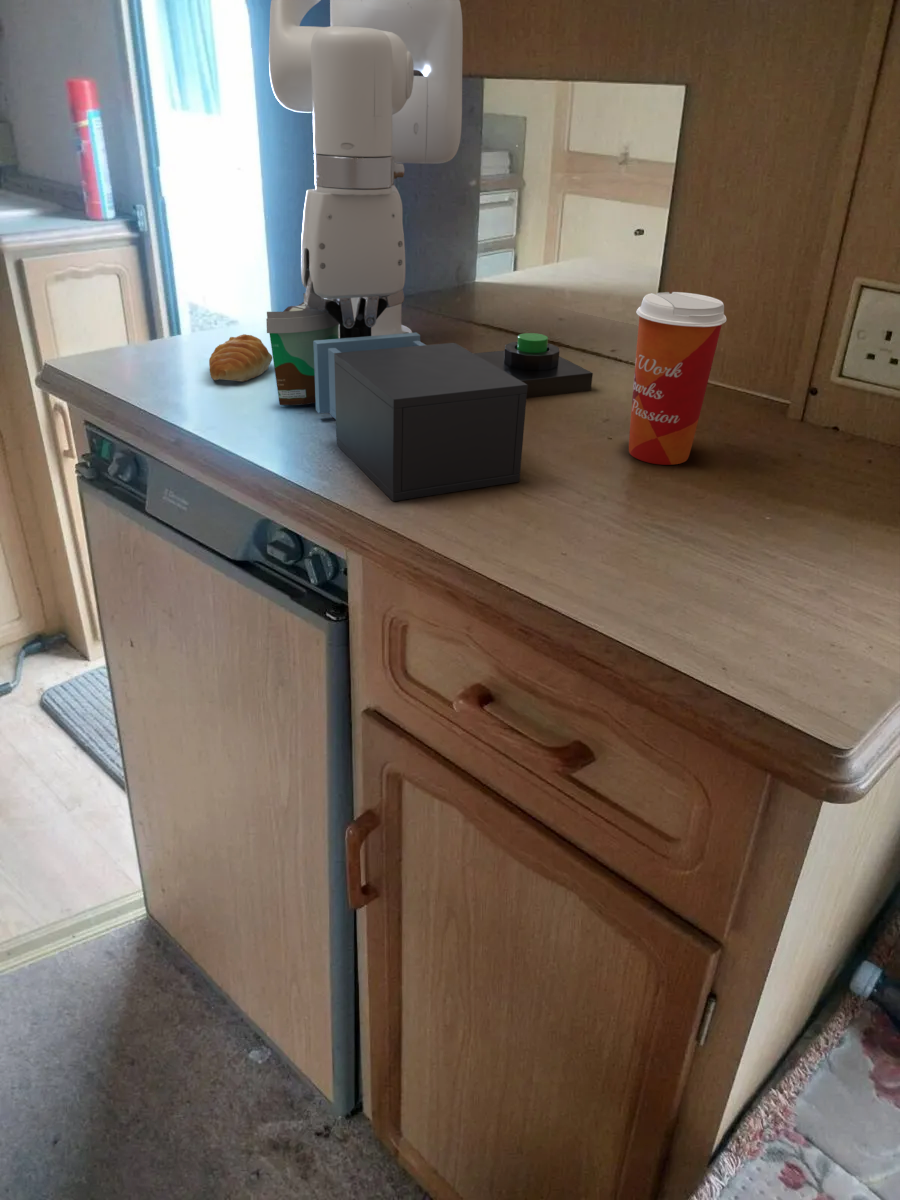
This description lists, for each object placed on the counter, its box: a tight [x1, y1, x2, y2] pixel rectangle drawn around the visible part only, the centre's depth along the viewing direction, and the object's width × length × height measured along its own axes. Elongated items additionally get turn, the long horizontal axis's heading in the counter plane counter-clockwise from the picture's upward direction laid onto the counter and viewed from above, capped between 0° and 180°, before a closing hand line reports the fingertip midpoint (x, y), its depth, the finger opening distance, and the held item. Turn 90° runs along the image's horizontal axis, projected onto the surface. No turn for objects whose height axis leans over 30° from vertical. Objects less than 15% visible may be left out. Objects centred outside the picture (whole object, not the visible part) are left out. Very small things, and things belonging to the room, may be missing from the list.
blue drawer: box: [313, 332, 426, 420], centre depth 93 cm, size 19×11×7 cm, turn 26°
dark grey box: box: [334, 342, 528, 502], centre depth 85 cm, size 15×13×9 cm
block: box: [472, 341, 594, 399], centre depth 110 cm, size 12×10×4 cm
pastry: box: [208, 333, 273, 383], centre depth 108 cm, size 9×7×4 cm
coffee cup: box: [628, 291, 727, 466], centre depth 87 cm, size 8×8×15 cm
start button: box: [516, 332, 549, 353], centre depth 109 cm, size 4×4×2 cm
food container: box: [265, 292, 339, 406], centre depth 100 cm, size 12×6×10 cm, turn 168°
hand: (355, 362), depth 98 cm, fingers closed
